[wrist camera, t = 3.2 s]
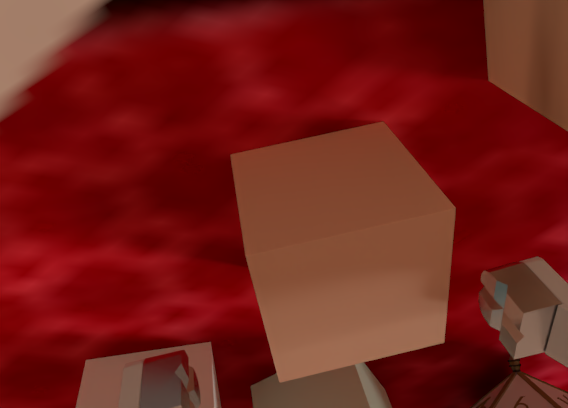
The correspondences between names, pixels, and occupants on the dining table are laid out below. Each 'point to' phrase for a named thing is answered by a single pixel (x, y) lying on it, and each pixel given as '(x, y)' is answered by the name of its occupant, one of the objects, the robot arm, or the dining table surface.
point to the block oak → (530, 53)
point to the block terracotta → (344, 248)
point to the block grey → (108, 370)
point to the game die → (523, 392)
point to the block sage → (323, 390)
